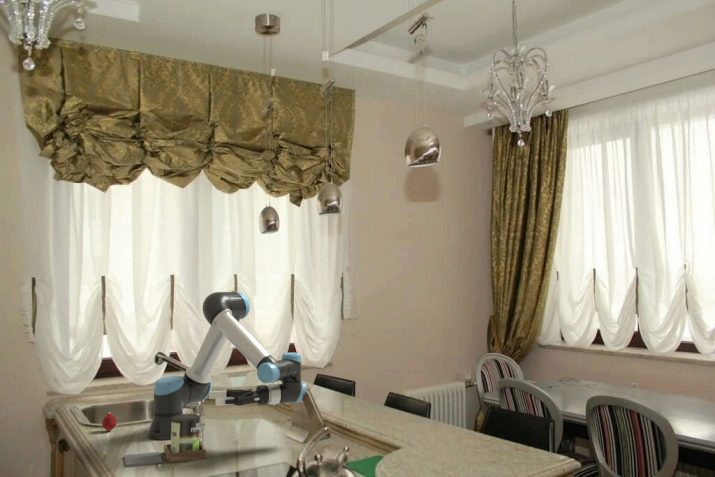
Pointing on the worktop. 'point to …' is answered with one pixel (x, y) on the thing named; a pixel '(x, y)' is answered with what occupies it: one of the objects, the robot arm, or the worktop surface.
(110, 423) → the onion
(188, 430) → the coffee can
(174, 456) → the wooden square tray
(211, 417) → the worktop surface
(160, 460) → the mat
